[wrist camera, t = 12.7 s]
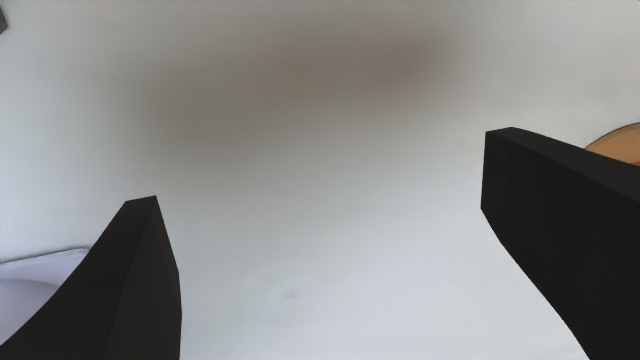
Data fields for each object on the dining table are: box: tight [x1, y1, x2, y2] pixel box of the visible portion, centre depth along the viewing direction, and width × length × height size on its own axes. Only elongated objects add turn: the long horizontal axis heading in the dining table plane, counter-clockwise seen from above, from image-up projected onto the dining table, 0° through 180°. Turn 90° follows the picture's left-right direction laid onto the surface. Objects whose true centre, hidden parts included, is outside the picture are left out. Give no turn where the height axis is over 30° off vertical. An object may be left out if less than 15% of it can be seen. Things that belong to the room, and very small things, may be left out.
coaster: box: [585, 123, 640, 164], centre depth 27 cm, size 9×9×1 cm
